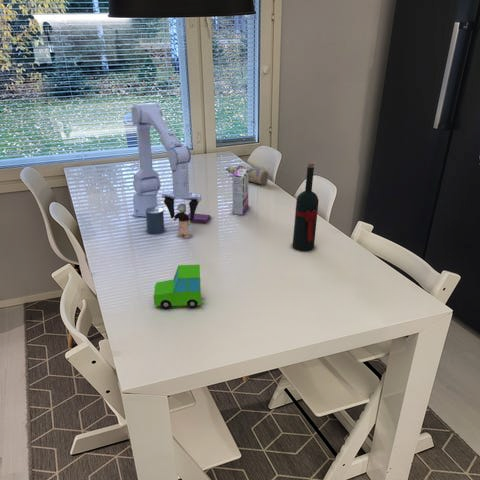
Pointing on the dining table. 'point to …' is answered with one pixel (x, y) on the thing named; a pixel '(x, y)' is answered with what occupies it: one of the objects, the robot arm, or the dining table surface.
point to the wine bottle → (306, 215)
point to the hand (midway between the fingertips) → (182, 218)
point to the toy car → (180, 288)
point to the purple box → (200, 218)
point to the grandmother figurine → (182, 220)
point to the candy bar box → (240, 191)
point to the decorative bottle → (252, 174)
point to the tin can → (155, 220)
